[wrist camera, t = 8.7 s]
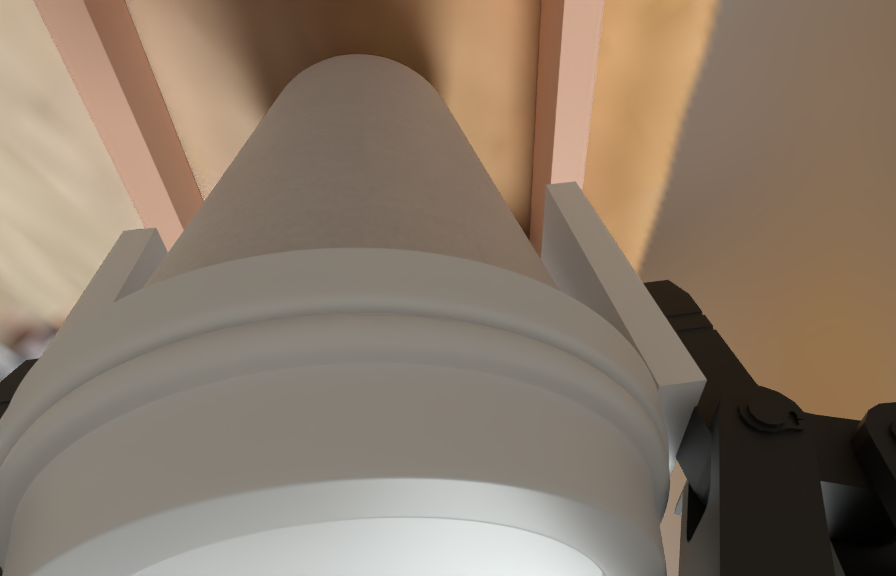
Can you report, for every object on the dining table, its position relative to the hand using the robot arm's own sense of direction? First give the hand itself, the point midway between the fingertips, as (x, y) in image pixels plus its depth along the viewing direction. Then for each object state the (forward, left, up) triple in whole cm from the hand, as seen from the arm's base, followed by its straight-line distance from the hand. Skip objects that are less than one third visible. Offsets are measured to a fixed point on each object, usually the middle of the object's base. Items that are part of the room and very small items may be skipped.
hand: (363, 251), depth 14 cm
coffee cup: (0, 0, -6) cm, 6 cm away
